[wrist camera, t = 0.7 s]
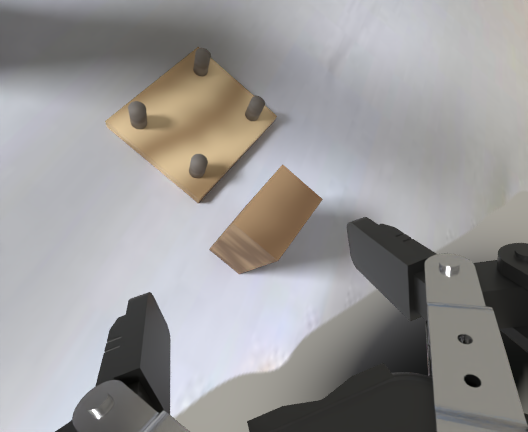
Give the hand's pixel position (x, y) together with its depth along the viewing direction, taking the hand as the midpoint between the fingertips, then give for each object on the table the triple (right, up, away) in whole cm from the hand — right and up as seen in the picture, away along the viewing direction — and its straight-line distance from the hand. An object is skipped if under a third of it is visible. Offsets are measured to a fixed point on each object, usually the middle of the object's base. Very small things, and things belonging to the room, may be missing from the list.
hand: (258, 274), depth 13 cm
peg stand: (-7, +13, +23) cm, 27 cm away
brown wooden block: (-2, 0, +21) cm, 22 cm away
